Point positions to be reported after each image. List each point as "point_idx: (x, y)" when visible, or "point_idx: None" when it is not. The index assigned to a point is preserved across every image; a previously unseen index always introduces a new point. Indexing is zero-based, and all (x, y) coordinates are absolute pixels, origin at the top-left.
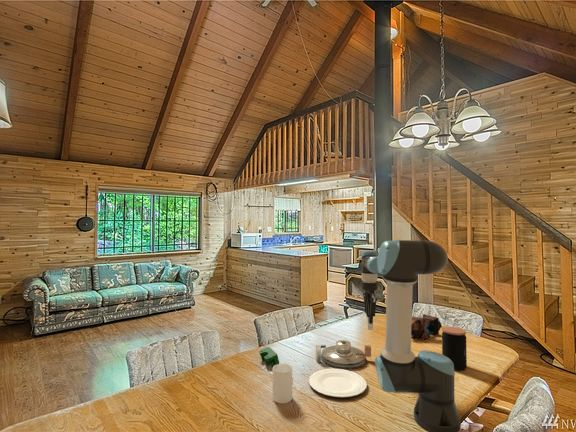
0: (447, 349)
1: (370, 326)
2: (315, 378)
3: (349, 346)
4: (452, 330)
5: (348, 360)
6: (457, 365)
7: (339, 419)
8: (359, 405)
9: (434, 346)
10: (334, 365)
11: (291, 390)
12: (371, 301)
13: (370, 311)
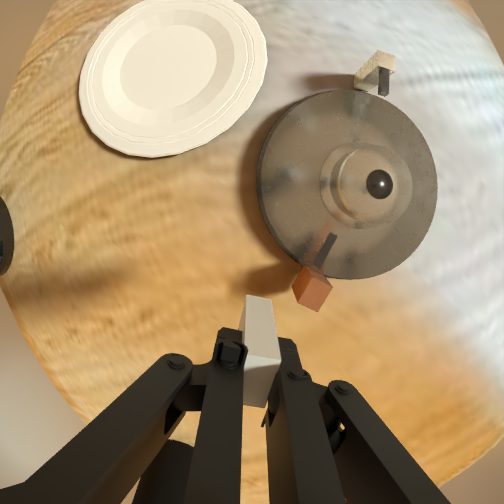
0: (156, 476)
1: (240, 326)
2: (212, 8)
3: (342, 199)
4: None
5: (284, 163)
6: None
7: (48, 39)
8: (60, 92)
9: None
10: (293, 106)
11: None
12: (11, 499)
13: (134, 392)
